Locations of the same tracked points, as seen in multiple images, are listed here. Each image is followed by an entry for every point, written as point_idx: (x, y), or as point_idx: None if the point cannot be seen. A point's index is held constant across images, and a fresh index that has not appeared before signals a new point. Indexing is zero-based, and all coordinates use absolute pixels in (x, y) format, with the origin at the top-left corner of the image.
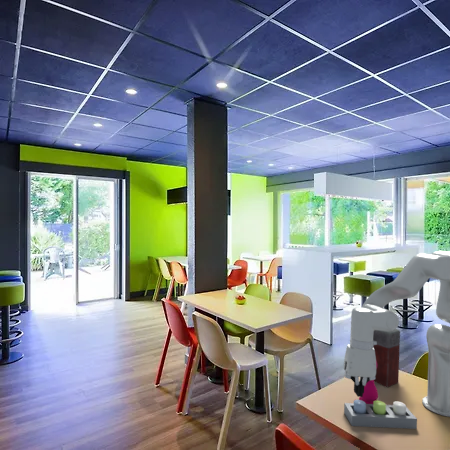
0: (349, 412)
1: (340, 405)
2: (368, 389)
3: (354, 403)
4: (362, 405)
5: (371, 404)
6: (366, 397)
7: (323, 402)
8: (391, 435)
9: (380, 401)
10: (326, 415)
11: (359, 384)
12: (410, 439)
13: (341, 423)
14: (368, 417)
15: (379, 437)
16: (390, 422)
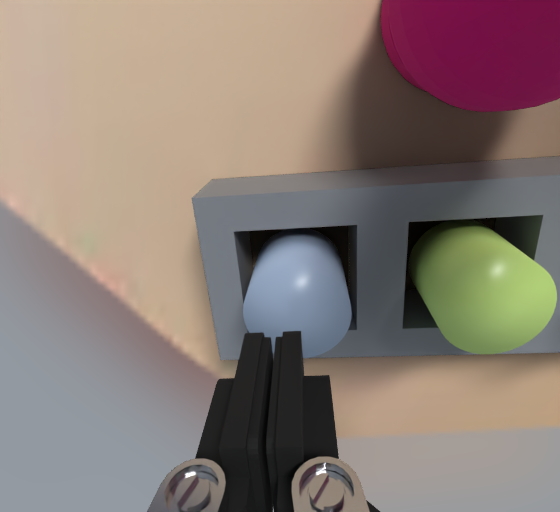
0: (214, 309)
1: (199, 73)
2: (520, 78)
3: (245, 323)
4: (307, 352)
5: (444, 189)
6: (444, 99)
7: (58, 46)
8: (436, 373)
9: (530, 271)
10: (87, 233)
11: (273, 492)
12: (527, 393)
13: (176, 303)
14: (336, 353)
15: (358, 391)
16: None
